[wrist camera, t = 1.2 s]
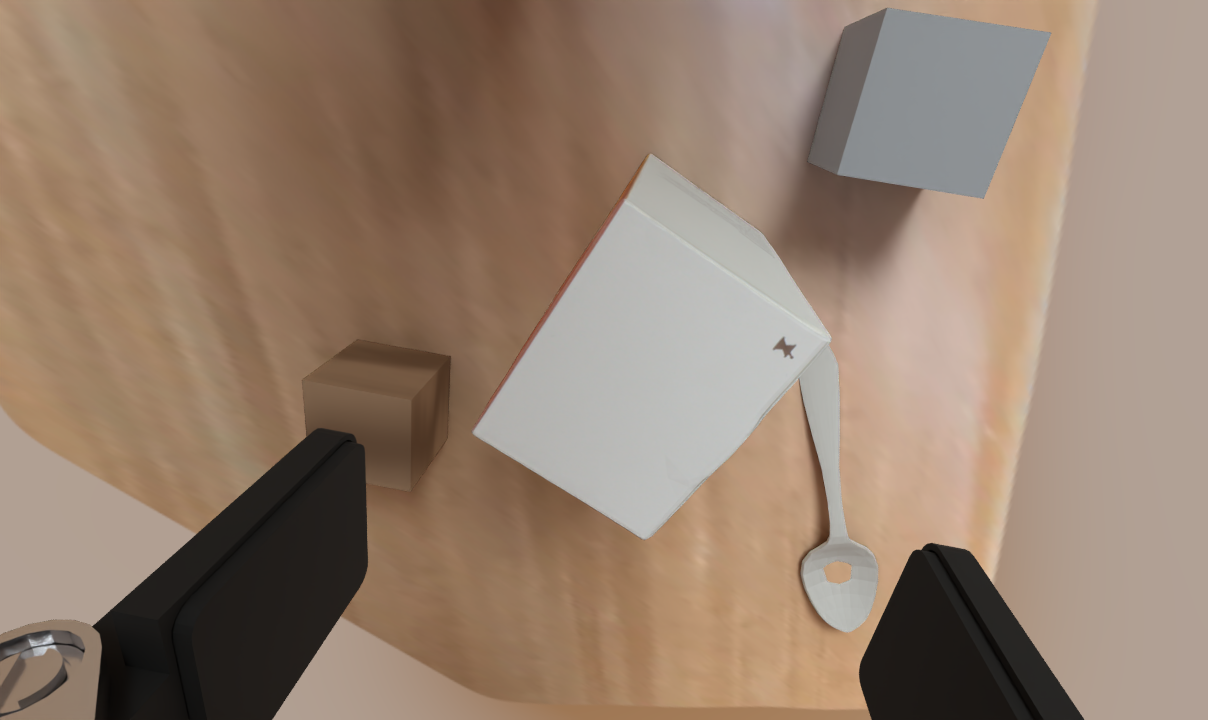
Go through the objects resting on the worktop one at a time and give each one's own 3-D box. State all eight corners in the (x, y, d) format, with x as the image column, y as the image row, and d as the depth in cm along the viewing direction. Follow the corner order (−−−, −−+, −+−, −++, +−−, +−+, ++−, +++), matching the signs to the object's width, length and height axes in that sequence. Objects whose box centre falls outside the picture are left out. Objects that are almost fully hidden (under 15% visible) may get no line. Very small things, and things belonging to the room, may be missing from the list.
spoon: (804, 614, 35) (810, 637, 33) (761, 288, 27) (766, 299, 26) (877, 609, 34) (887, 632, 33) (854, 271, 26) (864, 281, 25)
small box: (648, 149, 25) (624, 188, 13) (766, 232, 26) (844, 341, 14) (552, 297, 28) (463, 437, 16) (660, 367, 29) (650, 549, 17)
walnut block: (358, 338, 30) (302, 380, 26) (451, 355, 30) (411, 400, 26) (360, 421, 32) (309, 472, 28) (448, 437, 32) (410, 492, 28)
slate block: (843, 27, 22) (887, 7, 18) (974, 47, 22) (1051, 32, 18) (806, 161, 25) (836, 174, 20) (925, 181, 24) (983, 198, 20)
